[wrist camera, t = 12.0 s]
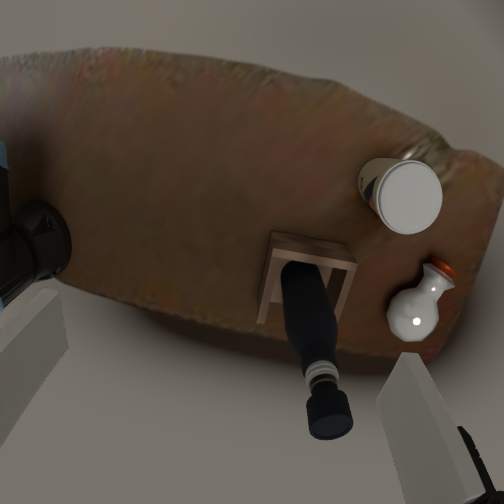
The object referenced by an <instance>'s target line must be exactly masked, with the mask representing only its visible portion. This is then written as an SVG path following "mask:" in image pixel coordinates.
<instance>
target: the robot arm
mask: <svg viewBox="0 0 504 504" xmlns="http://www.w3.org/2000/svg"><path fill="white" fill-rule="evenodd" d="M8 171H9V167H8V165H7V149H6V145H5V144H4V142H3V141H1V140H0V313H1V312H2V310H3V308H5V307H6V306H7V305H8V304H9V303H10V302H11V301H12V300H14V299H15V298H16V297H17V296H18V295H19V294H20V293H22V292H23V291H24V290H25V289H26V288H27V287H29V286H30V285H31V284H32V283H35V282H39V281H44V280H47V279H51V278H53V277H55V276H57V275H58V274H59V273H60V272H61V271H63V270H64V269H65V267H66V266H67V264H68V262H69V260H70V256H71V239H70V234H69V231H68V228H67V225H66V223H65V221H64V220H63V218H62V216H61V215H60V214H59V212H58V211H57V210H56V209H55V208H54V207H52V206H51V205H50V204H48V203H46V202H44V201H40V200H32V201H29V202H26V203H24V204H22V205H20V206H19V207H17V208H16V209H15V210H14V212H13V213H12V214H11V215H10V204H9V191H8ZM67 349H68V342H67V337H66V331H65V325H64V319H63V312H62V304H61V296H60V292H59V291H55V290H52V289H49V288H44V289H42V290H41V291H40V292H39V293H38V294H37V295H36V296H35V297H33V298H32V299H31V300H30V301H29V302H28V303H27V304H26V305H25V306H24V307H23V308H22V309H20V310H19V311H18V312H17V313H16V314H15V315H14V316H13V317H12V318H11V319H10V320H9V321H8V322H7V323H6V324H5V325H4V326H3V327H2V328H1V329H0V448H1V446H2V445H3V443H4V441H5V440H6V438H7V437H8V435H9V433H10V432H11V430H12V429H13V427H14V426H15V424H16V422H17V421H18V419H19V417H20V416H21V415H22V413H23V412H24V410H25V409H26V407H27V406H28V404H29V403H30V401H31V400H32V398H33V397H34V395H35V394H36V392H37V391H38V389H39V388H40V386H41V385H42V384H43V382H44V381H45V379H46V378H47V377H48V375H49V374H50V372H51V371H52V370H53V368H54V367H55V365H56V364H57V363H58V361H59V360H60V359H61V357H62V356H63V355H64V353H65V352H66V350H67ZM375 403H376V405H377V409H378V412H379V414H380V418H381V421H382V424H383V427H384V430H385V433H386V436H387V440H388V443H389V446H390V450H391V453H392V456H393V460H394V463H395V466H396V470H397V473H398V477H399V480H400V484H401V488H402V491H403V495H404V499H405V502H406V504H504V491H496V489H495V488H494V486H493V484H492V481H491V479H490V476H489V474H488V472H487V470H486V467H485V465H484V463H483V461H482V459H481V458H480V457H479V456H480V455H479V452H478V450H477V449H475V447H476V446H475V444H474V442H473V440H472V438H471V436H470V435H469V434H468V433H467V432H466V430H465V429H464V428H463V427H462V426H458V427H457V426H456V424H455V422H454V420H453V418H452V416H451V414H450V412H449V410H448V408H447V407H446V405H445V403H444V401H443V399H442V397H441V395H440V393H439V391H438V389H437V387H436V385H435V384H434V382H433V380H432V378H431V376H430V374H429V373H428V371H427V369H426V367H425V365H424V364H423V362H422V360H421V358H420V356H419V355H418V353H405V352H402V353H401V355H400V357H399V359H398V361H397V363H396V365H395V367H394V369H393V371H392V372H391V374H390V376H389V378H388V380H387V382H386V383H385V385H384V387H383V389H382V390H381V392H380V394H379V395H378V397H377V399H376V400H375Z"/></svg>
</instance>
